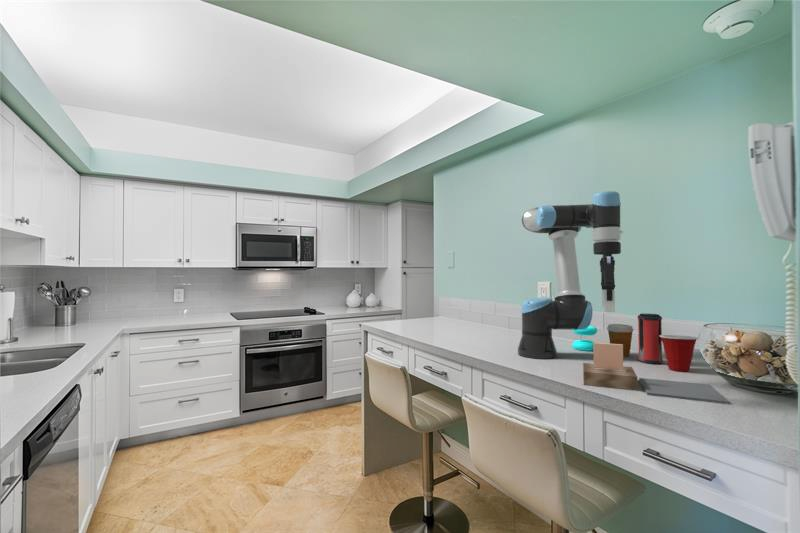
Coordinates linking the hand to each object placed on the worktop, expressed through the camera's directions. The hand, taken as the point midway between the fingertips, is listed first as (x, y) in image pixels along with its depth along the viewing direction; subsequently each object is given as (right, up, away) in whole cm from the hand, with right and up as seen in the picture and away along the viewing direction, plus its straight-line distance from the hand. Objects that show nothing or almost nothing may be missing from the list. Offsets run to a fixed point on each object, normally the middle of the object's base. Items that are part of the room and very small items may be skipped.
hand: (607, 309), depth 118 cm
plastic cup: (+32, -23, +13) cm, 42 cm away
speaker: (+30, -23, +25) cm, 45 cm away
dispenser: (0, -23, 0) cm, 23 cm away
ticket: (0, -23, 0) cm, 23 cm away
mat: (+16, -22, -9) cm, 29 cm away
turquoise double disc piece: (+17, -23, +49) cm, 56 cm away
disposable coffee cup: (+25, -23, +37) cm, 50 cm away
